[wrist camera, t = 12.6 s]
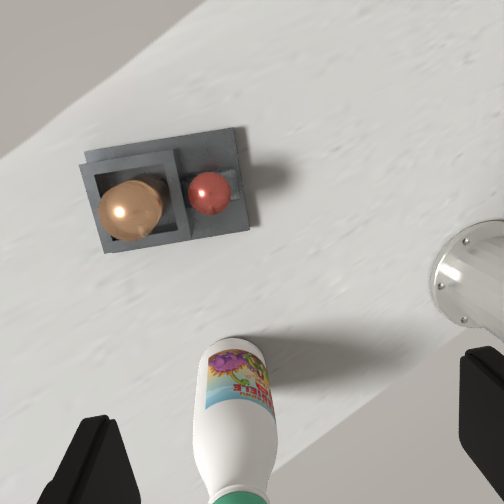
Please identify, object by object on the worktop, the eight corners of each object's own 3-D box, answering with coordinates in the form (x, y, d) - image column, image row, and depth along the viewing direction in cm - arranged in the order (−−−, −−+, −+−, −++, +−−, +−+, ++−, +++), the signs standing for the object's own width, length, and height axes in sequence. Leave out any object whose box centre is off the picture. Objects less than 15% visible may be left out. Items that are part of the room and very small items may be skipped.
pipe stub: (164, 170, 36) (149, 180, 28) (174, 215, 37) (162, 236, 30) (118, 178, 36) (90, 190, 28) (130, 222, 37) (106, 245, 30)
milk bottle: (243, 401, 46) (259, 590, 27) (187, 376, 44) (161, 559, 25) (277, 352, 44) (318, 517, 25) (219, 324, 43) (217, 478, 24)
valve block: (232, 127, 37) (234, 126, 30) (248, 227, 40) (253, 244, 33) (88, 151, 36) (61, 154, 30) (115, 249, 39) (96, 271, 33)
